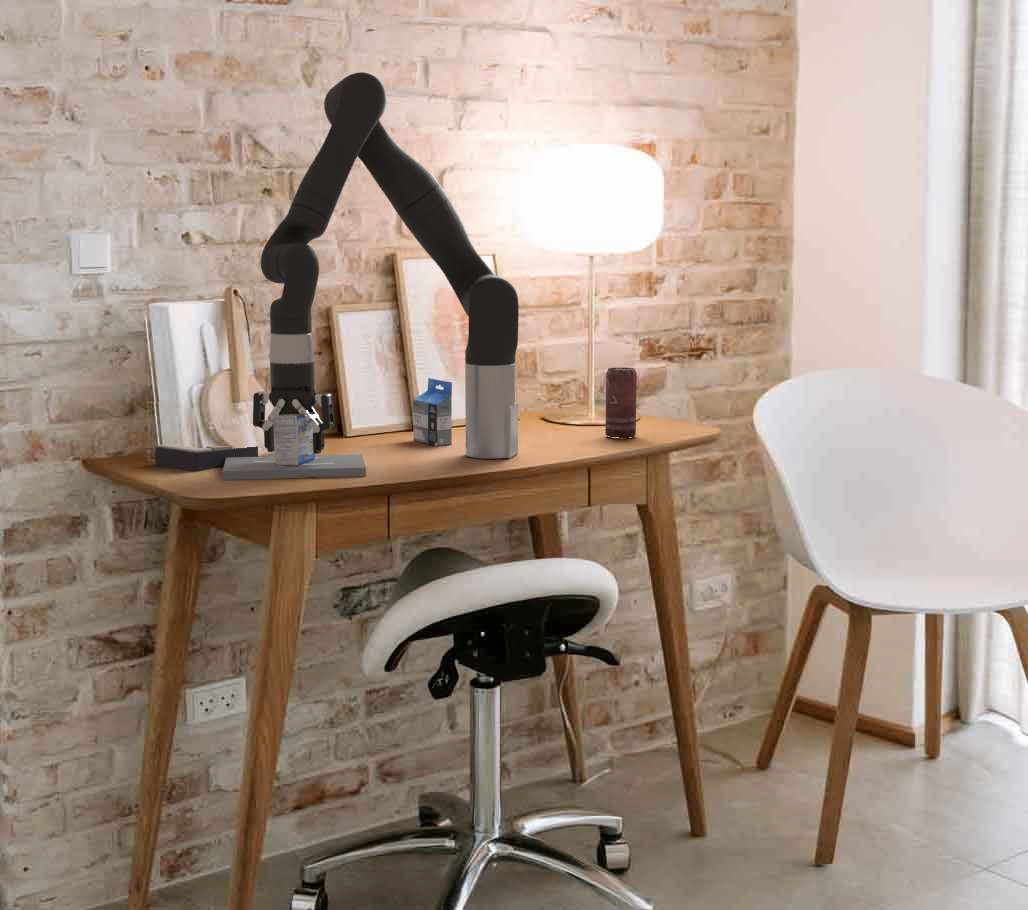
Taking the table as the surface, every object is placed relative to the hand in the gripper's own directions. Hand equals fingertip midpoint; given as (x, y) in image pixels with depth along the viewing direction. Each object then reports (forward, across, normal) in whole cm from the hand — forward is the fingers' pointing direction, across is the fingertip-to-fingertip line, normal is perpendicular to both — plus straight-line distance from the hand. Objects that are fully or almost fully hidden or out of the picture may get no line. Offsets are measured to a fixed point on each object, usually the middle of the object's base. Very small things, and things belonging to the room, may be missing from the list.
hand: (294, 452), depth 239 cm
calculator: (+4, +19, -4) cm, 20 cm away
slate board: (+3, 0, 0) cm, 3 cm away
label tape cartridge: (+4, -14, -36) cm, 39 cm away
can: (+4, -49, -52) cm, 72 cm away
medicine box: (+2, 0, 0) cm, 2 cm away
